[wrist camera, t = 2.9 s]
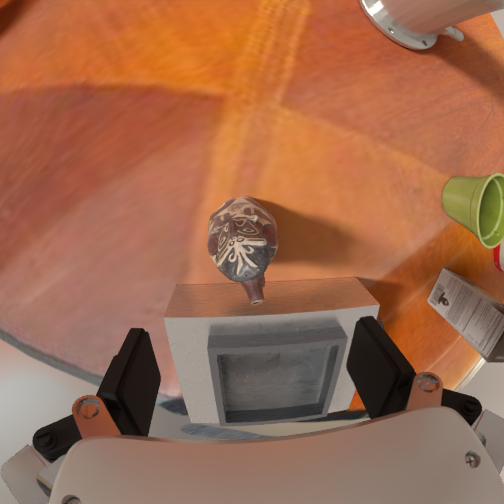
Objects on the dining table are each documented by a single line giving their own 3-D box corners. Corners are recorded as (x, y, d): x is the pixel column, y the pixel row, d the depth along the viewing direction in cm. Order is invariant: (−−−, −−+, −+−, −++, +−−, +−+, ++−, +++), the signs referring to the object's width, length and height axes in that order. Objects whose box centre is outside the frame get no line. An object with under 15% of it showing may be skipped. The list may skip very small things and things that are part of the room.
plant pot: (473, 165, 28) (515, 174, 20) (471, 225, 31) (509, 243, 23) (433, 163, 28) (479, 172, 20) (431, 232, 31) (473, 254, 23)
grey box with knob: (375, 275, 33) (411, 310, 24) (351, 374, 39) (370, 414, 31) (176, 284, 31) (159, 329, 23) (195, 387, 37) (190, 433, 29)
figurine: (269, 191, 28) (294, 215, 17) (278, 253, 31) (303, 310, 20) (203, 203, 28) (183, 235, 17) (216, 264, 31) (208, 326, 20)
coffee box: (469, 278, 35) (531, 324, 20) (453, 310, 37) (508, 363, 22) (442, 265, 33) (514, 319, 18) (424, 302, 35) (486, 365, 20)
